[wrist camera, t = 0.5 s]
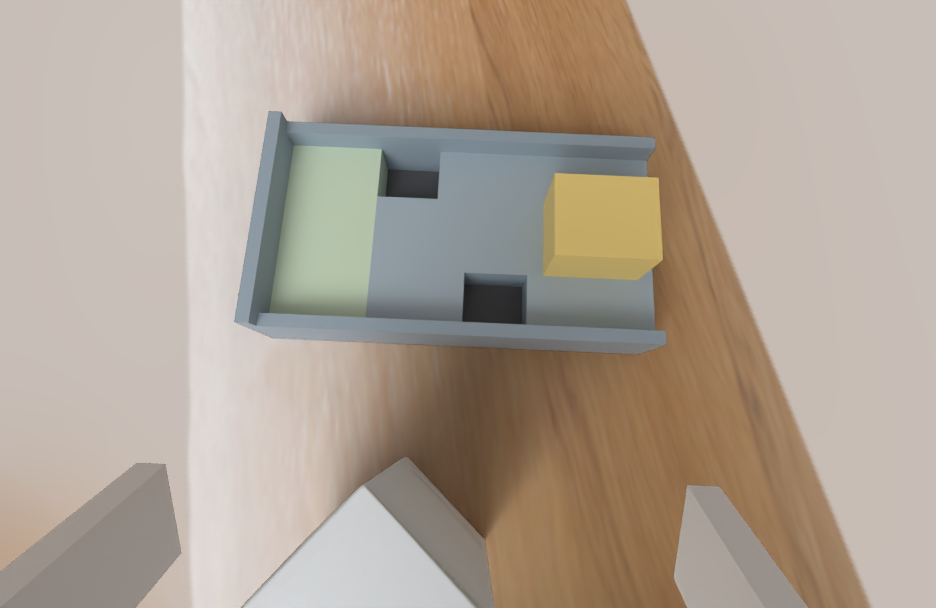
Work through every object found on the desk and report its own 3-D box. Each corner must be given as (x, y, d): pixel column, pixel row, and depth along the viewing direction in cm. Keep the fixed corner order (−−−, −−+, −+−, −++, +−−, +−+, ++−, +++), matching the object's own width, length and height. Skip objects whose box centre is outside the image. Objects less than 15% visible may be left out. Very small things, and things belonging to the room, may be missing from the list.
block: (637, 280, 30) (662, 259, 26) (542, 276, 30) (554, 254, 26) (634, 207, 31) (658, 177, 27) (543, 203, 31) (554, 172, 27)
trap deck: (638, 354, 32) (673, 341, 26) (272, 338, 32) (234, 322, 27) (631, 172, 35) (661, 128, 30) (298, 157, 35) (268, 111, 30)
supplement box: (406, 452, 30) (367, 475, 18) (488, 541, 29) (506, 631, 17) (318, 540, 29) (211, 630, 17) (400, 637, 28) (350, 811, 15)
